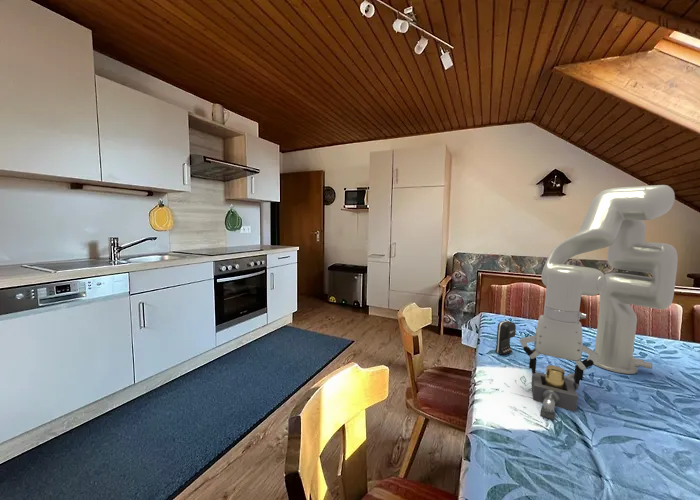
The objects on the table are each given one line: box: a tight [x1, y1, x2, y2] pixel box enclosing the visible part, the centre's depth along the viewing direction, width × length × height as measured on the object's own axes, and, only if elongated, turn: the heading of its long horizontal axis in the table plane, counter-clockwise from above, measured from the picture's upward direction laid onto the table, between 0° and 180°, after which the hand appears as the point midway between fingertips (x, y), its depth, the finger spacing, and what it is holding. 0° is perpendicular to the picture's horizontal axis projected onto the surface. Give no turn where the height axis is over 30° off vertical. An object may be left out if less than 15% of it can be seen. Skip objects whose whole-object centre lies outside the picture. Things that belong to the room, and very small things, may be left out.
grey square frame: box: [530, 371, 579, 413], centre depth 79 cm, size 9×9×4 cm
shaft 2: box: [564, 372, 580, 390], centre depth 84 cm, size 7×4×4 cm, turn 121°
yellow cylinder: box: [545, 364, 566, 390], centre depth 79 cm, size 4×4×8 cm
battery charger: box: [495, 320, 517, 356], centre depth 107 cm, size 7×4×11 cm, turn 125°
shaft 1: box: [539, 389, 560, 421], centre depth 73 cm, size 7×4×4 cm, turn 141°
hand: (554, 376), depth 79 cm, fingers open, 9 cm apart
